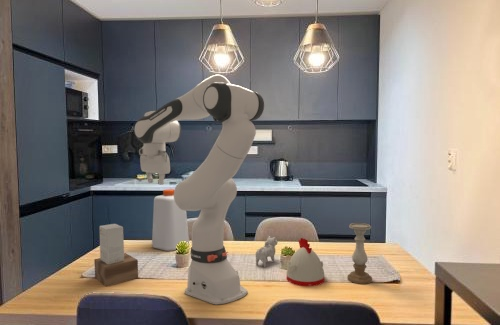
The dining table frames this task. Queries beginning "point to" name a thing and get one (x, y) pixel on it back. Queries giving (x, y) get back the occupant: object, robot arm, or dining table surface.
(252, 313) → the dining table surface
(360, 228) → the candle holder
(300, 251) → the kitchen timer
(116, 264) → the walnut block
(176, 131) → the robot arm
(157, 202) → the plastic bottle
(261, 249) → the dog figurine
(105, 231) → the small box
